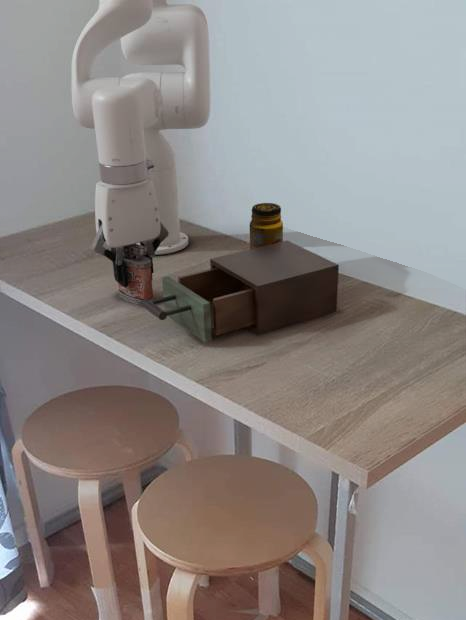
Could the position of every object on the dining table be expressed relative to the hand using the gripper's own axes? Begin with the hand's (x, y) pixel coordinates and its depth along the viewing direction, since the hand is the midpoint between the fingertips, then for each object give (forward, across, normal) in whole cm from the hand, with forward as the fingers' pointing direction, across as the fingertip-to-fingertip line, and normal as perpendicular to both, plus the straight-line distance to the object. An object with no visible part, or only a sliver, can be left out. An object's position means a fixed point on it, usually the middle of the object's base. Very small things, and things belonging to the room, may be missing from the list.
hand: (134, 280), depth 142 cm
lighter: (+3, 0, 0) cm, 3 cm away
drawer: (+2, -4, +17) cm, 18 cm away
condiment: (+4, -25, +2) cm, 25 cm away
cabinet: (+3, -17, +17) cm, 25 cm away
